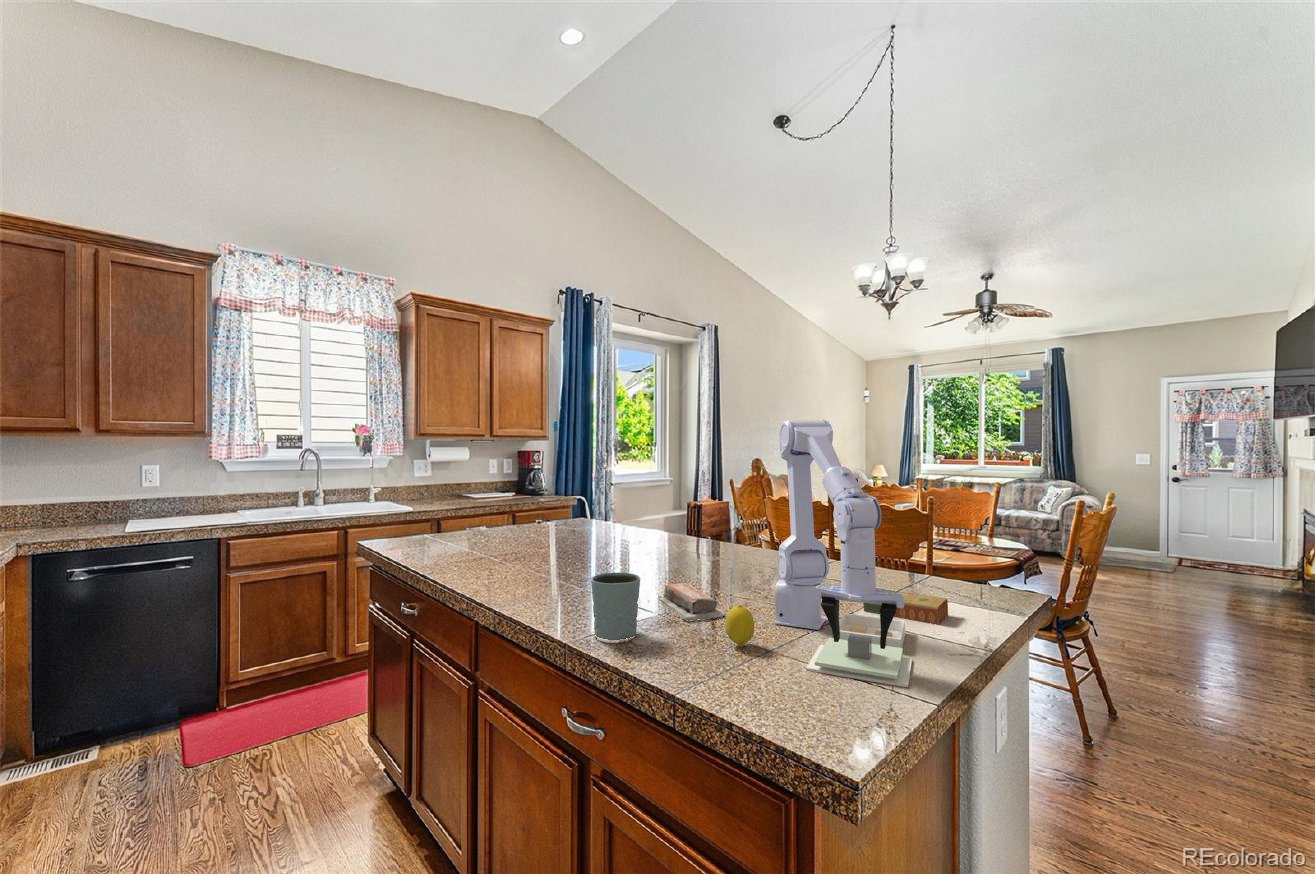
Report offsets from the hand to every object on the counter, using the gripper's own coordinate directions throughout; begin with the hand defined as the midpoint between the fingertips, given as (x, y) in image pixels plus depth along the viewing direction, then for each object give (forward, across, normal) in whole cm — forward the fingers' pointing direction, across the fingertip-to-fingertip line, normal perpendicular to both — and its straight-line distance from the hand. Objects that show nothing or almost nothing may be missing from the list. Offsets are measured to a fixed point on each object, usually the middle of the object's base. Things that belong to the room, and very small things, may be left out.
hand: (859, 643), depth 97 cm
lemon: (+4, -22, 0) cm, 22 cm away
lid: (+3, 0, 0) cm, 3 cm away
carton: (+4, +5, +35) cm, 36 cm away
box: (+4, 0, +15) cm, 15 cm away
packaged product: (+4, -41, +18) cm, 45 cm away
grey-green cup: (+4, -47, -5) cm, 47 cm away
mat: (+4, 0, 0) cm, 4 cm away
